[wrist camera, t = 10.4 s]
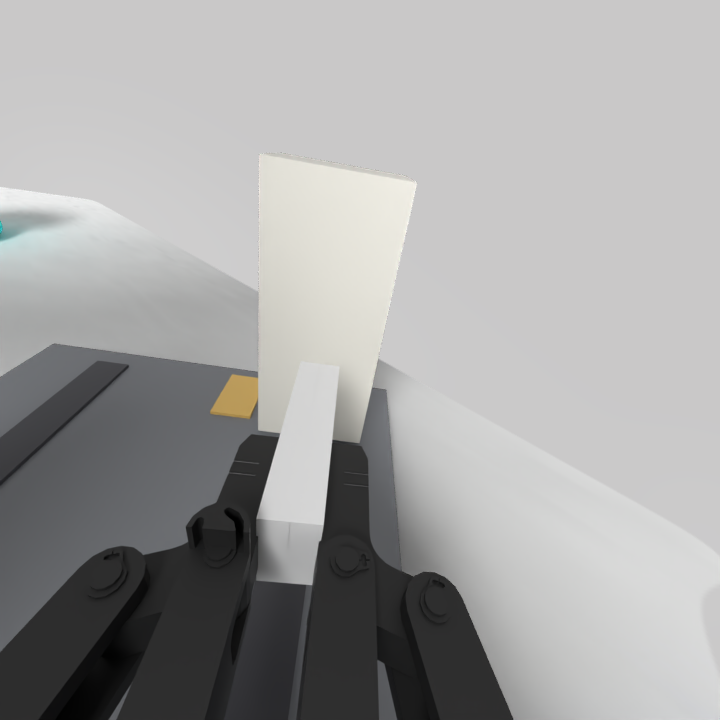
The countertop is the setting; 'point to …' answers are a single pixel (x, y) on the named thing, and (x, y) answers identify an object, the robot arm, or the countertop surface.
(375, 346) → the cream white tall block
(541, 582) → the countertop surface
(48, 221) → the countertop surface
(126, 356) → the switch panel
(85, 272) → the countertop surface
